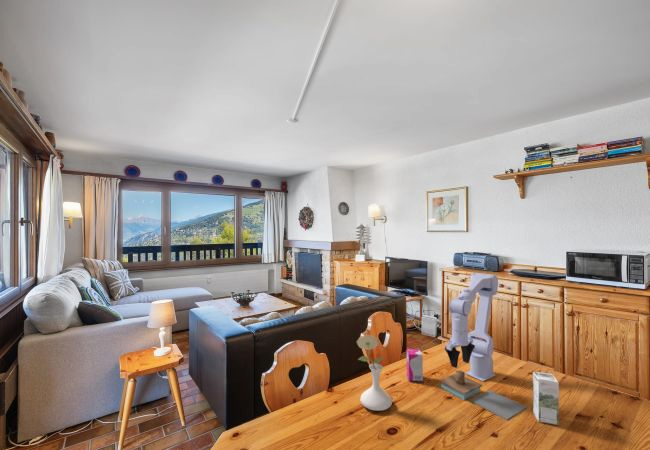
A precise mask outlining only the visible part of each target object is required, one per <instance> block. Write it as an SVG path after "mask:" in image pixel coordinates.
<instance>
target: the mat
mask: <svg viewBox="0 0 650 450" xmlns="http://www.w3.org/2000/svg"><path fill="white" fill-rule="evenodd" d="M470 402H471V403H473V404H475V405H477V406H479V407H481V408H483V409H484V410H486V411H489V412H491V413H492V414H495V416H498V417H500V418H502V419H504V420H506V421H509V420H510V419H511V418H513V417H515V416H516V415H518V414H519V413H521V412H523V411H525V410H526V409H528V408H527V406H526V405H523V404H521V403H519V402H517V401H515V400H512V399H511V398H508V397H506V396H504V395H502V394H500V393H497V392H495V391H493V390H490V389H489V390H488V391H486V392H484V393H481V394H480V395H477V396H476V397H474V398H472V399H470Z"/></svg>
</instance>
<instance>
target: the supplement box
mask: <svg viewBox="0 0 650 450" xmlns="http://www.w3.org/2000/svg"><path fill="white" fill-rule="evenodd" d="M405 353H406V376H407V379H408V381H409V383H423V382H424V370H423V369H424V368H423V367H424V365H423V364H424V363H423V353H422V352H421V350H420V349H413V348H412V349H410V348H409V349H408V348H407V349H406V352H405Z"/></svg>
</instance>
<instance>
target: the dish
mask: <svg viewBox="0 0 650 450" xmlns="http://www.w3.org/2000/svg"><path fill="white" fill-rule="evenodd" d="M440 389H442V390H443V391H445V392H446V393H449V394H452V395H453V396H455V397H457V398H458V399H461V400H463V401H466V400H468V399H470V398H472V397H474V396H476V395H478V394H480V393H481V387H480V388H478V389H476V390H473V391H471V392H469V393H467V394H465V395H464V394H462V393H460V392H458V391H456V390H454V389H452V388H450V387H448V386H447V385H445V384H443V383H441V382H440Z"/></svg>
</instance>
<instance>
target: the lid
mask: <svg viewBox="0 0 650 450" xmlns="http://www.w3.org/2000/svg"><path fill="white" fill-rule="evenodd" d="M465 375H466V372H464V371H462V370H460V369H459V370H456V371H455V373H454V374H451V375H449V376H447V377H443V378H442V379H439V380H438V381H439V383H440V384H441V383H443V384H445V385H447V386H448V387H450V388H452V389H454V390H456V391H458V392H460V393H462V394H464V395H465V394H467V393H469V392H471V391H473V390H476V389H478V388H480V389H481V387H482V386H483V385H482V384H481V383H478V382H477V381H474V380H472V379H470V378H468V377H466V376H465Z"/></svg>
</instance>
